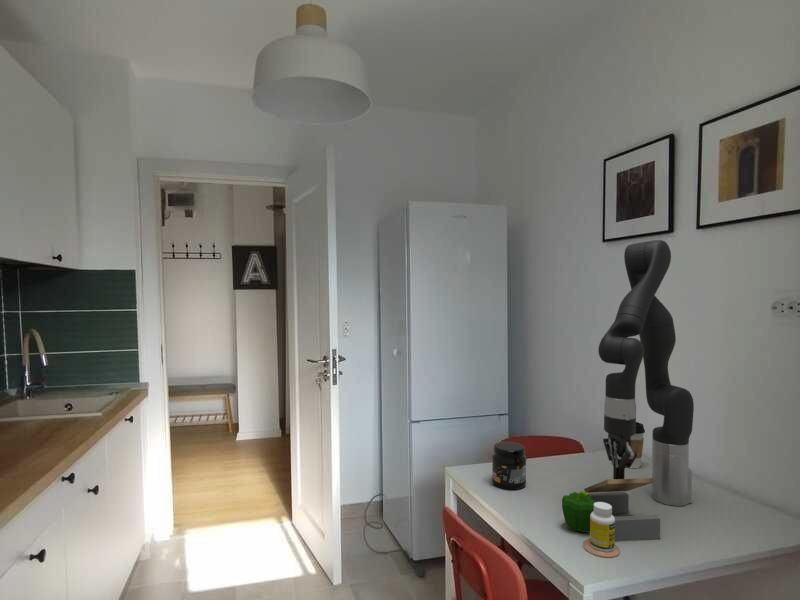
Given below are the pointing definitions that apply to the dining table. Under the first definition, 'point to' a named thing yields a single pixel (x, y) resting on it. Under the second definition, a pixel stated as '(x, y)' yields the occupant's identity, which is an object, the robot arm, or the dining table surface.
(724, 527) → the dining table surface
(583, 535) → the dining table surface
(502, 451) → the supplement container
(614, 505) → the rails
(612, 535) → the supplement bottle
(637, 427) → the coffee cup
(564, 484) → the dining table surface
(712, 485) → the dining table surface
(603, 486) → the tan flat square panel
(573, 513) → the bell pepper
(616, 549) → the coaster
